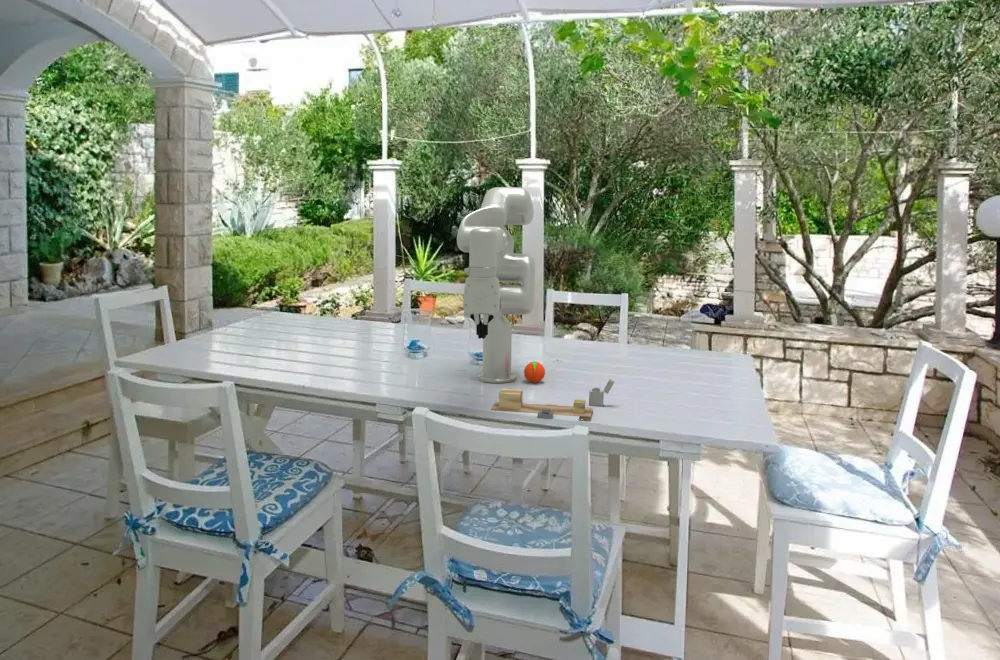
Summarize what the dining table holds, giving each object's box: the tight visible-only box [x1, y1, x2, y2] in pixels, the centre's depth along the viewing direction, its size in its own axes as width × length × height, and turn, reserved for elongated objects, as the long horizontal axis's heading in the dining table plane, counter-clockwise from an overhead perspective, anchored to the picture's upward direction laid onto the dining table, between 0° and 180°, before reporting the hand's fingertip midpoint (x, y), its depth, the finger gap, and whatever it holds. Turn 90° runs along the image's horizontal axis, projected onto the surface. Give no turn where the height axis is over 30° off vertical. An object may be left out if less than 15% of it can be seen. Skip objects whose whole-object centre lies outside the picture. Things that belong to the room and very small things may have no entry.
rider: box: [498, 388, 524, 410], centre depth 211 cm, size 5×6×4 cm
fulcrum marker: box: [537, 408, 554, 420], centre depth 202 cm, size 2×4×3 cm, turn 79°
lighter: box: [588, 378, 615, 407], centre depth 218 cm, size 7×2×8 cm, turn 86°
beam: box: [490, 398, 594, 421], centre depth 210 cm, size 12×28×4 cm, turn 79°
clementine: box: [523, 361, 546, 384], centre depth 244 cm, size 8×7×7 cm
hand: (482, 337), depth 210 cm, fingers closed
